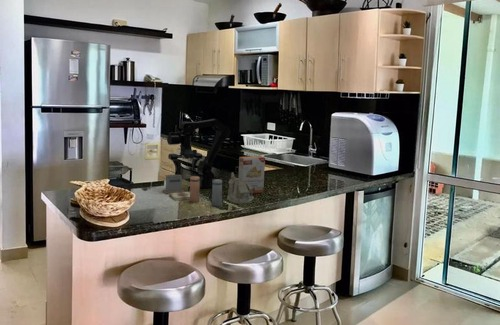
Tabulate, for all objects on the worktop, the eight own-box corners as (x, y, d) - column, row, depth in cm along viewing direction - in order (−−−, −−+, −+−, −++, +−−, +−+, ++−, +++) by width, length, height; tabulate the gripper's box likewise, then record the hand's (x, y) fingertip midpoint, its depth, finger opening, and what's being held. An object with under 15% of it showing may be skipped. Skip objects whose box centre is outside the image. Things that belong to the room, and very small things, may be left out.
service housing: (181, 190, 260) (181, 173, 258) (185, 192, 254) (185, 176, 252) (162, 191, 255) (162, 174, 253) (166, 194, 249) (166, 177, 247)
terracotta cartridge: (197, 199, 239) (197, 175, 237) (200, 202, 235) (201, 177, 233) (188, 200, 237) (188, 176, 235) (191, 202, 233) (192, 178, 231)
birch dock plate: (190, 194, 251) (190, 191, 251) (196, 198, 241) (197, 195, 241) (169, 195, 246) (169, 193, 245) (175, 200, 236) (175, 197, 236)
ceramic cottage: (233, 204, 233) (235, 175, 231) (222, 197, 248) (224, 170, 246) (261, 203, 239) (263, 175, 238) (248, 197, 254) (250, 171, 253)
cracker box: (242, 195, 254) (243, 158, 250) (237, 192, 259) (238, 156, 256) (264, 193, 260) (265, 157, 257) (259, 190, 266) (260, 155, 262)
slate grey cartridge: (219, 203, 233) (220, 178, 231) (223, 206, 229) (223, 180, 227) (210, 204, 231) (211, 179, 229) (214, 206, 227) (214, 181, 225)
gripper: (174, 146, 246) (173, 174, 248) (206, 145, 254) (205, 172, 257) (168, 143, 256) (167, 170, 258) (199, 143, 264) (198, 169, 267)
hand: (185, 171), depth 260 cm, fingers open, 9 cm apart
